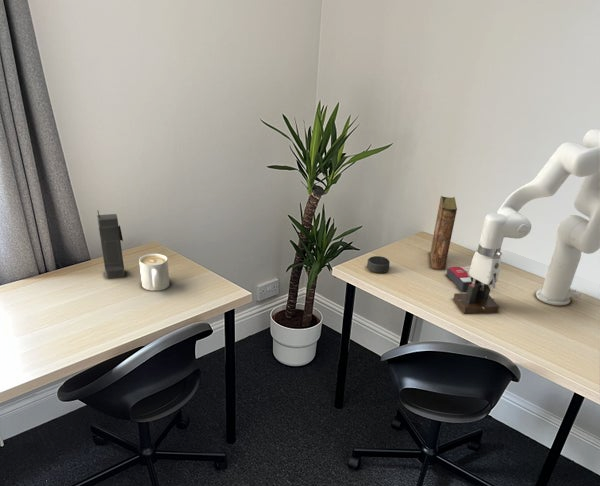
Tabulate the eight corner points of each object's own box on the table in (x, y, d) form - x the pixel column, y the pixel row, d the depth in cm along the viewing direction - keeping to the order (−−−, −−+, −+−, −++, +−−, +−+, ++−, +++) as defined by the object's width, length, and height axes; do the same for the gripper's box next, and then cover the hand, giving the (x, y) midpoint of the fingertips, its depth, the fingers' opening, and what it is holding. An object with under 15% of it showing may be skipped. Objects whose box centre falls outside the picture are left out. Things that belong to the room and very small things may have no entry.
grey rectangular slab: (484, 295, 225) (488, 279, 221) (488, 297, 224) (492, 281, 220) (464, 301, 221) (468, 284, 217) (468, 303, 220) (473, 286, 215)
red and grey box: (472, 265, 244) (490, 279, 232) (470, 275, 247) (487, 290, 235) (447, 266, 242) (463, 281, 230) (445, 276, 245) (461, 291, 233)
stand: (485, 296, 231) (487, 290, 229) (501, 314, 220) (502, 308, 218) (450, 297, 228) (451, 291, 227) (463, 315, 217) (465, 309, 216)
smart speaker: (362, 269, 245) (363, 259, 243) (375, 262, 251) (376, 253, 248) (380, 276, 241) (381, 266, 238) (392, 269, 246) (394, 260, 244)
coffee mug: (144, 278, 229) (141, 253, 223) (171, 279, 229) (168, 254, 223) (138, 294, 218) (135, 268, 212) (166, 295, 219) (163, 269, 213)
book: (444, 270, 248) (457, 210, 233) (431, 269, 248) (442, 208, 233) (443, 254, 261) (454, 196, 246) (430, 253, 261) (441, 195, 246)
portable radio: (126, 270, 234) (118, 205, 218) (128, 276, 229) (119, 211, 214) (105, 271, 231) (95, 207, 216) (106, 278, 227) (96, 213, 212)
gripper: (513, 256, 208) (500, 304, 219) (479, 240, 218) (468, 287, 229) (498, 260, 204) (486, 309, 215) (464, 243, 214) (454, 291, 226)
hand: (477, 297), depth 222 cm, fingers closed on grey rectangular slab, 2 cm apart
